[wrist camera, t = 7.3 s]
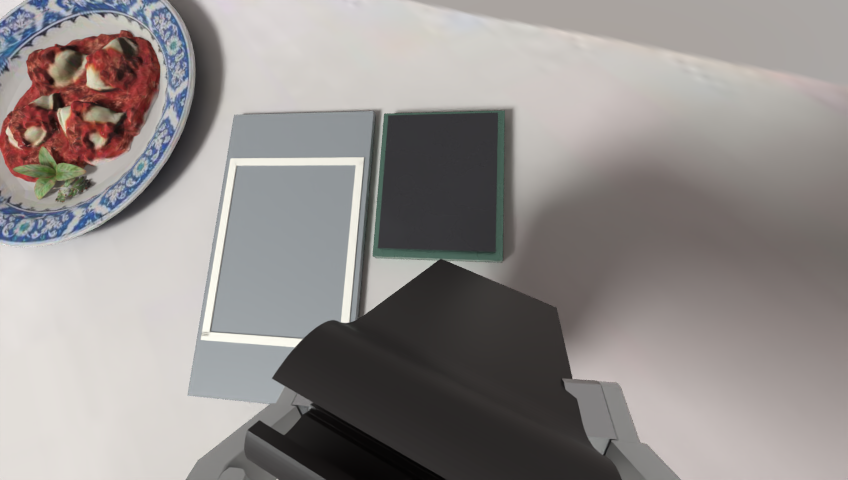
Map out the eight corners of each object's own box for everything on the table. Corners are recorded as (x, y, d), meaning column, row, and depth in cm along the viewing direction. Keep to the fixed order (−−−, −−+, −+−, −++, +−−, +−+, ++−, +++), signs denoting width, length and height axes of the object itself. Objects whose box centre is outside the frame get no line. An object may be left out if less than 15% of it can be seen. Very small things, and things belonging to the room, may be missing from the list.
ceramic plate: (35, -14, 37) (-3, -42, 34) (249, 7, 32) (227, -23, 29) (-76, 219, 33) (-130, 210, 30) (150, 281, 28) (113, 278, 25)
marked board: (375, 115, 28) (373, 110, 27) (350, 409, 24) (346, 412, 23) (238, 118, 30) (233, 114, 29) (193, 393, 26) (186, 395, 25)
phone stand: (442, 259, 18) (370, 170, 6) (555, 308, 17) (722, 307, 5) (368, 426, 17) (126, 674, 5) (482, 492, 16) (482, 1009, 4)
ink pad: (503, 117, 26) (505, 105, 25) (501, 262, 24) (503, 259, 23) (387, 120, 28) (382, 109, 26) (376, 258, 26) (370, 255, 24)
